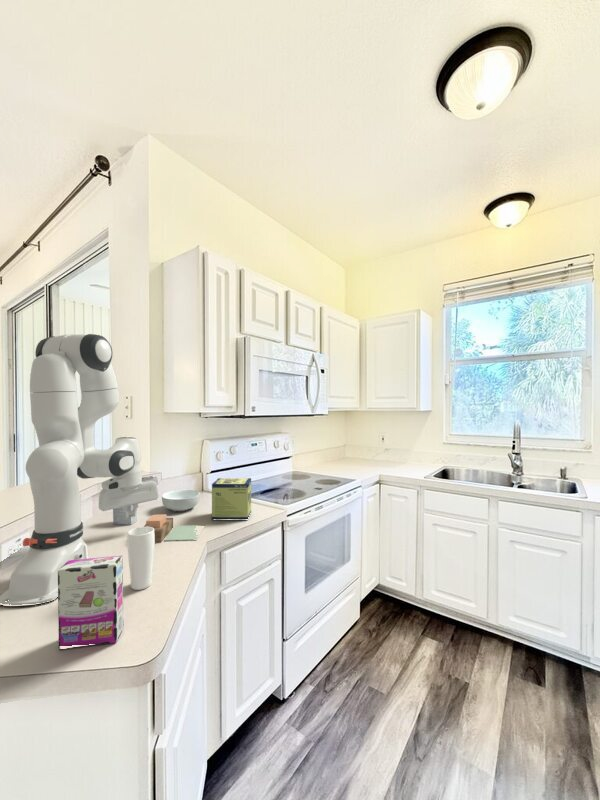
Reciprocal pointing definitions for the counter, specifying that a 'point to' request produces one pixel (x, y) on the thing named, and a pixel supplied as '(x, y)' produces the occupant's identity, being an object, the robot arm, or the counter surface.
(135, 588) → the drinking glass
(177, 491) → the cereal bowl
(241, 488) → the protein box
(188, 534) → the sage mat
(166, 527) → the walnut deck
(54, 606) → the counter surface
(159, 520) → the terracotta tile
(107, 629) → the candy bar box
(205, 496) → the counter surface
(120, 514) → the medicine box
